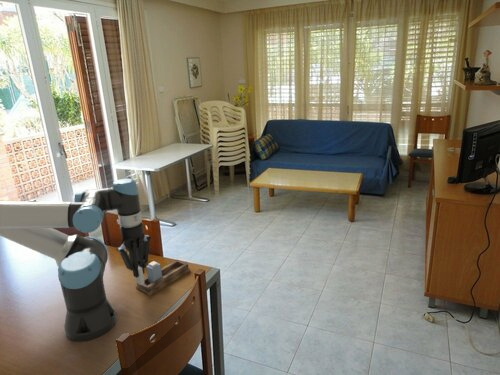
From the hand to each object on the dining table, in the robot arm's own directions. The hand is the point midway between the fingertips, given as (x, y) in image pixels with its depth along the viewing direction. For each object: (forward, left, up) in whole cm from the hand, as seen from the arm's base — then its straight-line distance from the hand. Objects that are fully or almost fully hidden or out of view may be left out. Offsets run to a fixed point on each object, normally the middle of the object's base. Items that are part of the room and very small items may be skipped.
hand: (140, 283), depth 132 cm
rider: (+6, 0, -3) cm, 7 cm away
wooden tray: (+10, 0, -4) cm, 11 cm away
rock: (+12, +20, -4) cm, 24 cm away
